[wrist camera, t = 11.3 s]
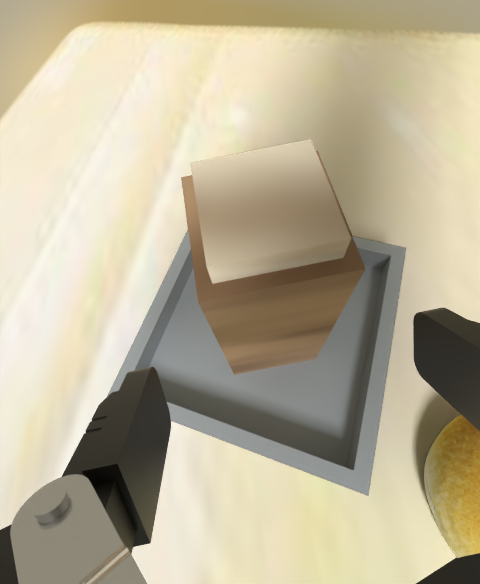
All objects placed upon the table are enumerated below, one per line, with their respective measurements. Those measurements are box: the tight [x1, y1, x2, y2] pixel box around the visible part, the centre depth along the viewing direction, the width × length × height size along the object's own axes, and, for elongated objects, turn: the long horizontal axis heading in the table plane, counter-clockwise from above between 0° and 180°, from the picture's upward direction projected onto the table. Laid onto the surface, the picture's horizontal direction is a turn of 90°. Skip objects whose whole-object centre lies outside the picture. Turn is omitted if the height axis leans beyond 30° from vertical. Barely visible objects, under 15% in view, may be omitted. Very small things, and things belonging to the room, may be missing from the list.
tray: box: [107, 231, 406, 496], centre depth 20 cm, size 14×14×2 cm
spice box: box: [181, 139, 366, 375], centre depth 15 cm, size 5×5×12 cm
